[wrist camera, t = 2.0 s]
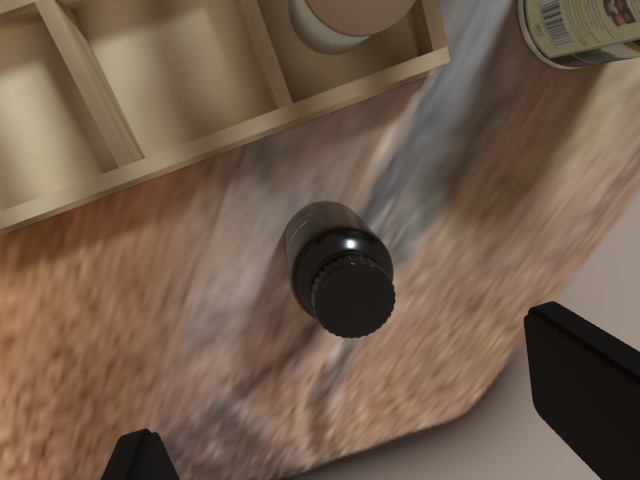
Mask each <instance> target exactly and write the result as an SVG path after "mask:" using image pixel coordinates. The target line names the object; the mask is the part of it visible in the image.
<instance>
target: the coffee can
mask: <svg viewBox="0 0 640 480" xmlns="http://www.w3.org/2000/svg"><path fill="white" fill-rule="evenodd" d="M518 18H519V23H520V27H521V31H522V34H523V36H524V39H525V41H526V43H527V45H528V46H529V48H530V49H531V50H532V52H533V53H534V54H535V55H536V56H537V57H538V58H539V59H540V60H541V61H543V62H545V63H547V64H548V65H550V66H553V67H556V68H560V69H579V68H584V67H587V66H591V65H596V64H602V63H608V62H613V61H620V60H626V59H632V58H638V57H640V0H518Z"/></svg>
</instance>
